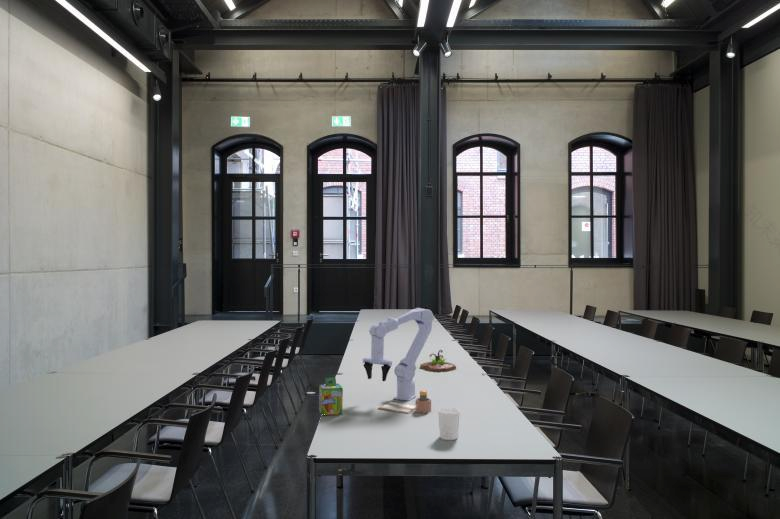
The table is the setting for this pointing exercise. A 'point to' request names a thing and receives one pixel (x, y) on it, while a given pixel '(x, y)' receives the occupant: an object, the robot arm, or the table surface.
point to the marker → (423, 395)
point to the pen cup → (423, 405)
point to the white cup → (449, 423)
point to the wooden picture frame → (398, 407)
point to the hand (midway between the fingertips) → (376, 379)
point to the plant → (438, 364)
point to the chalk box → (330, 398)
